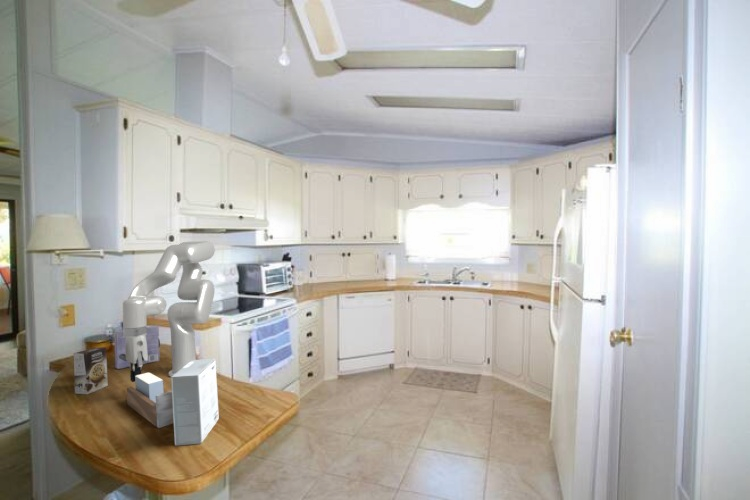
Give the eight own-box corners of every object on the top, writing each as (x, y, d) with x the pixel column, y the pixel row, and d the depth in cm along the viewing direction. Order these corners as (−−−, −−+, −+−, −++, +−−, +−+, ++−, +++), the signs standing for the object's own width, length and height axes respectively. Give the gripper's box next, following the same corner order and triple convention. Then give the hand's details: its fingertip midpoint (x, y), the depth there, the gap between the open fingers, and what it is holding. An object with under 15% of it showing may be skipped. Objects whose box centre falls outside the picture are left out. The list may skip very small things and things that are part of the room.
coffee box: (87, 394, 149) (86, 353, 148) (74, 393, 150) (72, 353, 150) (108, 385, 158) (106, 347, 157) (95, 385, 159) (93, 346, 159)
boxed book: (149, 398, 143) (148, 372, 142) (164, 408, 133) (163, 380, 133) (136, 403, 139) (134, 375, 139) (150, 413, 130) (148, 383, 130)
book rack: (155, 396, 145) (154, 369, 145) (189, 417, 125) (187, 387, 125) (127, 404, 138) (126, 376, 138) (158, 428, 118) (156, 396, 118)
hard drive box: (194, 421, 123) (192, 359, 122) (219, 419, 123) (216, 358, 123) (173, 446, 107) (170, 376, 107) (201, 444, 108) (198, 374, 108)
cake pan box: (159, 358, 196) (157, 324, 195) (162, 360, 192) (160, 325, 192) (114, 367, 182) (113, 331, 182) (117, 370, 178) (115, 332, 178)
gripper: (153, 332, 141) (154, 381, 141) (139, 328, 151) (140, 374, 151) (130, 335, 136) (131, 387, 136) (117, 331, 146) (118, 379, 145)
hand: (136, 380), depth 143 cm, fingers closed
